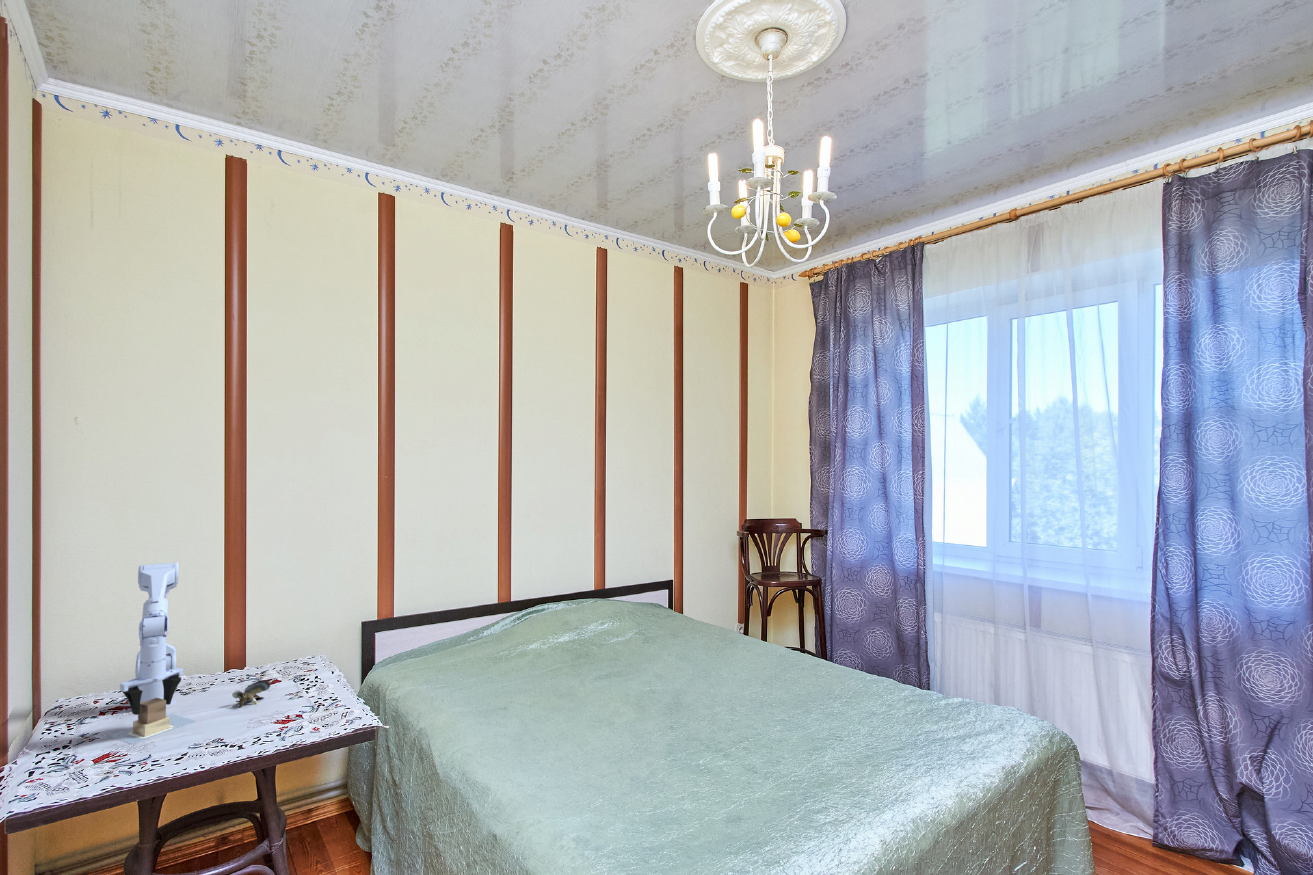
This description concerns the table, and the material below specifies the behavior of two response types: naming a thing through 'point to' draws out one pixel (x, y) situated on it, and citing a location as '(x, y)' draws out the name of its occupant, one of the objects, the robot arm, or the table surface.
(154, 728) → the oak slab
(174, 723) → the board
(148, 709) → the walnut block
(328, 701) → the table surface
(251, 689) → the eagle figurine
